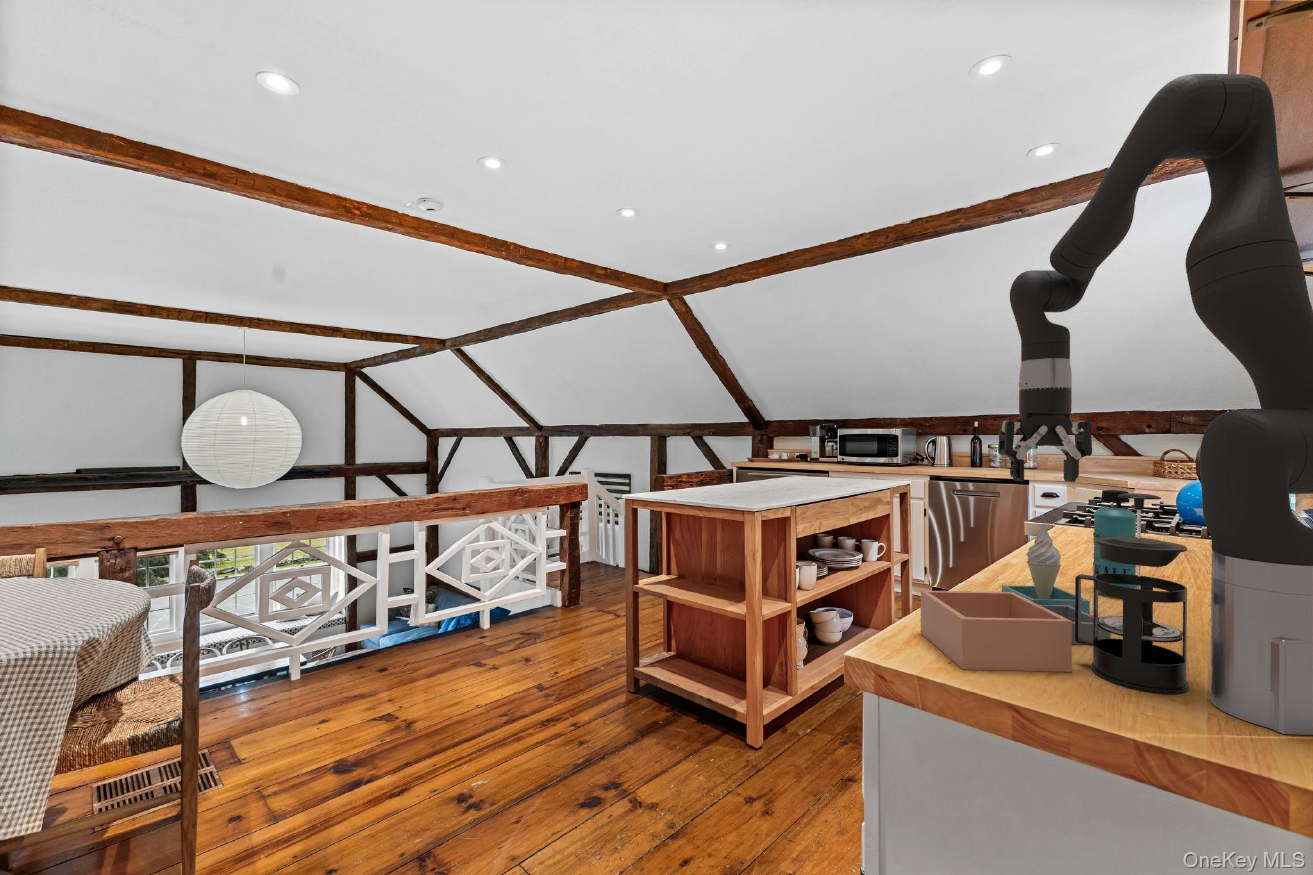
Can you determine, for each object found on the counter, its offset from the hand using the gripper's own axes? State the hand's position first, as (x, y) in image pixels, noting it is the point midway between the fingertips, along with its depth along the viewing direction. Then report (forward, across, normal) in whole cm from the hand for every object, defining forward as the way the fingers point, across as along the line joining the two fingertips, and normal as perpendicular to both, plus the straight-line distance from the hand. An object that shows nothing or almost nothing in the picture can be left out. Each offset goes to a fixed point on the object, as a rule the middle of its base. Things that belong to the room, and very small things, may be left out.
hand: (1044, 481), depth 100 cm
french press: (+22, -5, -28) cm, 36 cm away
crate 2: (+22, -5, -12) cm, 26 cm away
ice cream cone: (+22, 0, 0) cm, 23 cm away
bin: (+22, -19, -20) cm, 35 cm away
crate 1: (+22, 0, 0) cm, 22 cm away
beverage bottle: (+22, +18, +9) cm, 30 cm away
